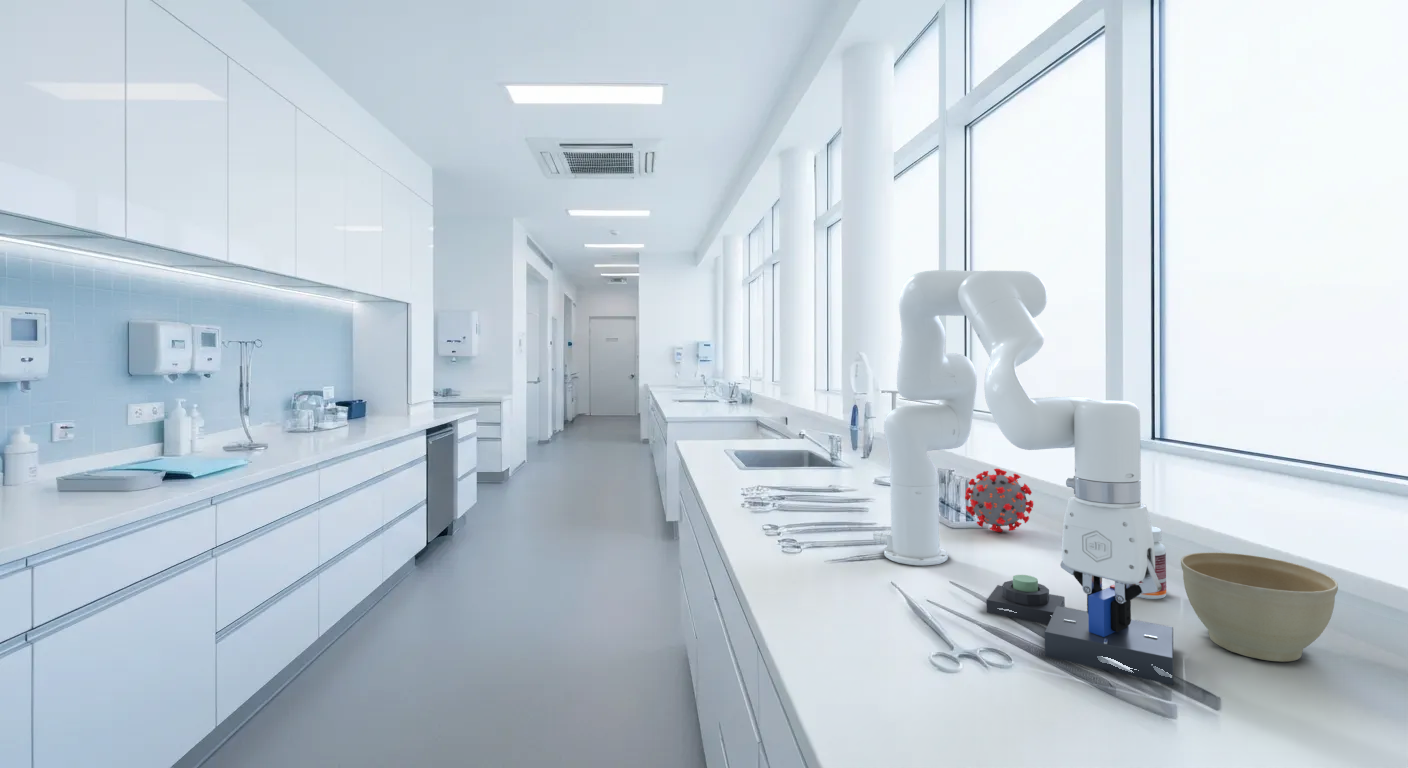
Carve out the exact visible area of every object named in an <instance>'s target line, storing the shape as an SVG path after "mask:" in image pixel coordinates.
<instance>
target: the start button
mask: <svg viewBox="0 0 1408 768" xmlns="http://www.w3.org/2000/svg"><path fill="white" fill-rule="evenodd" d="M1038 579H1039V578H1037V577H1035V576H1032V575H1027V574H1016V575H1013V576H1012V580H1013V588H1014V589H1017V590H1019V591H1025V592H1036V591H1038V584H1039V580H1038Z"/></svg>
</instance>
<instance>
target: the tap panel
mask: <svg viewBox="0 0 1408 768" xmlns="http://www.w3.org/2000/svg"><path fill="white" fill-rule="evenodd" d="M1044 630H1045V631H1044V657H1046V658H1051V659H1055V660H1060V661H1064V662H1069V663H1073V664H1077V665H1082V666H1086V667H1091V668H1094V669H1098V670H1104V671H1108V672H1112V673H1116V674H1121V675H1126V676H1130V677H1135V678H1138V679H1144V680H1146V681H1147V680H1148V681H1151V682H1157V683H1160V684H1166V685H1169V686H1174V677H1173V678H1170V677H1165V676H1161V675H1159V674H1158V673H1157V672H1156V671H1155V670H1154V668H1153V666H1156V667H1158V668H1160V669H1163V670H1164V671H1165V672H1168V673H1169V674H1171V675H1173V676H1174V627H1173V626H1169V625H1164V624H1159V623H1153V622H1148V621H1142V620H1138V619H1132V618H1131V622H1130V625H1129V626H1128V627H1127V628H1125V629H1123V630H1121V631H1119V632H1114V633H1112V634H1110V635H1107V636H1105V637H1102V636H1099V635H1096V634H1093V633H1090V632H1089V620H1088V613H1087V610H1082V609H1077V608H1071V607H1066V606H1065V607H1061V606H1056V609H1055V611H1054V613H1053V615H1052V617H1051V619H1050V622H1049V624H1048V625H1047V626H1046V628H1045V629H1044ZM1097 656H1103V657H1108V658H1111V659H1114V660H1116V661H1118V662H1120V663H1122V664H1123V665H1126V666H1128V667H1130V668H1133V669H1130V670H1132V671H1133V672H1134V673H1133V672H1132V673H1131V672H1128V671H1125V670H1122V669H1119V668H1118V667H1115V666H1113V665H1111V664H1107V663H1102V662H1100V661H1099V660H1098V658H1097ZM1151 664H1153V666H1151ZM1134 669H1137V670H1134ZM1138 670H1139V671H1138Z"/></svg>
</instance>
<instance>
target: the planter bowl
mask: <svg viewBox="0 0 1408 768" xmlns="http://www.w3.org/2000/svg"><path fill="white" fill-rule="evenodd" d="M1180 567H1181V571H1182V579H1183V586H1184V589H1185V593H1186V596H1187V599H1188V601H1189V603H1190V605H1191V607H1192V609H1193V611H1194V613H1195V614H1196V616H1197V618H1198V619H1199V620H1200V622H1201V623H1202V624H1203V625H1204V627H1205V628H1206V629H1207V633H1208V636H1209V639H1210V640H1211V641H1212V642H1213V643H1214V644H1216V645H1217V646H1218V647H1220V648H1223V649H1225V650H1227V651H1230V652H1232V653H1235V654H1238V655H1241V656H1245V657H1249V658H1253V659H1258V660H1262V661H1270V662H1281V663H1282V662H1283V663H1284V662H1294V661H1298V660H1300V659H1301V657H1302V655H1303V652H1304V649H1307V647H1309V646H1310V645H1312V644H1313V643H1314V642H1315V641H1316V640H1317V639H1318V638H1319V637H1320V636H1321V635H1322V634H1323V633H1324V631H1325V629H1326V628H1327V627H1328V625H1329V623H1330V621H1331V618H1332V615H1333V613H1334V608H1335V601H1336V595H1337V593H1338V591H1339V584H1338V582H1337V580H1336V579H1334V578H1333V577H1332V576H1330V575H1327V574H1326V573H1323V572H1322V571H1319V570H1316V569H1313V568H1310V567H1307V566H1304V565H1301V564H1297V563H1294V562H1290V561H1286V560H1282V559H1281V560H1280V559H1276V558H1271V557H1264V556H1258V555H1253V554H1243V553H1236V552H1235V553H1234V552H1219V551H1218V552H1217V551H1216V552H1215V551H1213V552H1209V551H1208V552H1194V553H1189V554H1185V555H1183V556H1182V557H1180Z"/></svg>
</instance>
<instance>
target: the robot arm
mask: <svg viewBox="0 0 1408 768" xmlns="http://www.w3.org/2000/svg"><path fill="white" fill-rule="evenodd" d="M1047 302H1048V290H1047V287H1046V285H1045V283H1044V281H1043V280H1042V279H1041V278H1040V277H1039V276H1038V275H1037V274H1035V273H1033V272H1031V271H1027V270H953V269H937V270H936V269H935V270H934V269H933V270H925V271H919V272H917V273H915V274H913V275H911V276H909V277H908V278H907V279H906V281H905V282H904V284H903V285H902V287H901V290H900V293H899V299H898V312H899V319H900V329H901V331H900V332H901V333H900V342H899V352H898V363H897V372H896V388H897V392H898V394H899V395H900V397H902V398H904V399H906V400H909V401H939V403H937V404H913V405H911V404H910V405H902V406H899V407H896V408H894V409H892V410H890V412H888V413H887V415H886V416H885V418H884V421H883V422H884V423H883V432H884V437H885V438H884V439H885V443H886V447H887V453H888V463H889V464H888V465H889V483H890V485H889V486H890V488H889V489H890V531H888V532H883V531H877V530H875V531H874V532H873V533H872V534H873V535H872V537H873V540H874V542H875V543H877V544H884V545H885V548H884V549H883V554H884V555H883V556H884V557H885V558H886V559H888V560H890V561H892V562H895V563H898V564H902V565H910V566H937V565H940V564H943V563H945V562H947V561H948V559H949V553H948V552H947V550H945V549H943V548H941V546H940V503H939V502H940V499H939V496H940V495H939V472H938V469H937V466H936V464H935V463H934V462H933V459H931V457H930V456H929V453H928V452H931V451H940V450H953V449H958V448H961V447H963V446H964V445H965V443H966V442H967V441H968V439H969V437H970V434H971V430H972V423H973V415H974V411H975V410H974V408H975V401H976V396H977V395H976V394H977V386H978V376H977V371H976V368H975V365H974V363H973V362H972V360H971V359H970V358H969V357H968V356H966V355H964V354H961V353H957V352H956V353H954V352H952V353H951V352H950V353H949V352H946V353H945V347H946V342H947V341H946V340H947V333H946V329H945V326H944V325H943V323H942V321H941V319H940V317H939V316H942V317H943V316H946V317H947V316H949V317H950V316H951V317H952V316H954V317H955V316H956V317H958V316H959V317H960V316H962V317H963V316H964V317H965V316H966V318H967V320H968V321H969V324H970V325H971V327H972V329H973V331H974V333H975V334H976V336H977V338H978V340H979V341H980V343H981V345H982V346H983V348H984V350H985V352H986V353H987V355H988V357H989V363H988V364H987V367H986V370H985V373H984V385H983V386H984V387H983V388H984V389H983V391H984V399H985V401H986V405H987V408H988V410H989V412H990V413H991V416H992V417H993V420H994V421H995V423H996V425H997V426H998V429H999V430H1000V432H1001V433H1002V435H1003V436H1004V437H1005V439H1006V440H1008V442H1010V444H1012V445H1013V446H1015V447H1017V448H1019V449H1021V450H1026V451H1039V450H1052V449H1071V448H1074V475H1073V477H1067V478H1066V480H1065V486H1066V487H1067V488H1070V489H1073V495H1074V496H1070V497H1068V500H1067V503H1066V508H1065V513H1064V518H1063V527H1062V536H1061V537H1062V539H1061V562H1060V568H1061V569H1063V571H1065V572H1067V573H1069V574H1070V575H1072V576H1073V577H1074V578H1075V580H1076V581H1077V582H1078V583H1079V585H1080V586H1081V587H1082V591H1083V593H1084V594H1086V611H1087V613H1088V596H1089V595H1091V594H1094V593H1096V592H1099V591H1101V590H1103V579H1106V580H1109V581H1114V585H1115V600H1114V601H1112V602H1111V629H1112V630H1113V631H1115V632H1119V631H1121V630H1123V629H1125V628H1127V627H1128V625H1130V622H1131V619H1132V604H1131V603H1132V600H1134V599H1135V598H1138V597H1137V596H1138V595H1140V594H1146V593H1155V592H1157V591H1160V590H1161V589H1162V586H1161V584H1160V582H1159V579H1158V577H1157V575H1156V573H1155V551H1154V540H1153V533H1152V527H1151V526H1152V522H1151V517H1150V515H1149V510H1148V508H1147V505H1146V504H1144V503H1142V480H1141V479H1142V478H1141V477H1142V476H1141V471H1142V469H1141V468H1142V463H1141V461H1142V460H1141V411H1140V409H1139V407H1138V406H1137V405H1136V404H1135V403H1134V402H1131V401H1126V400H1113V399H1112V400H1111V399H1110V400H1108V399H1107V400H1106V399H1104V400H1103V399H1100V400H1097V399H1094V398H1090V397H1084V396H1048V397H1047V396H1046V397H1030V396H1029V394H1028V393H1027V391H1026V389H1025V388H1024V386H1023V384H1022V383H1021V381H1020V379H1019V376H1018V374H1017V370H1016V368H1017V367H1018V366H1020V365H1023V364H1024V363H1026V362H1028V361H1029V360H1030V359H1032V358H1033V357H1034V356H1035V355H1037V353H1039V351H1040V350H1041V349H1042V348H1043V345H1044V342H1045V337H1044V336H1045V335H1044V333H1043V331H1042V330H1041V328H1040V327H1039V325H1038V324H1037V322H1036V321H1035V319H1034V318H1036V317H1038V316H1040V315H1041V314H1042V313H1043V311H1044V310H1045V308H1046V305H1047ZM1142 580H1143V581H1144V582H1143V583H1139V582H1140V581H1142ZM1136 583H1137V584H1136Z"/></svg>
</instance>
